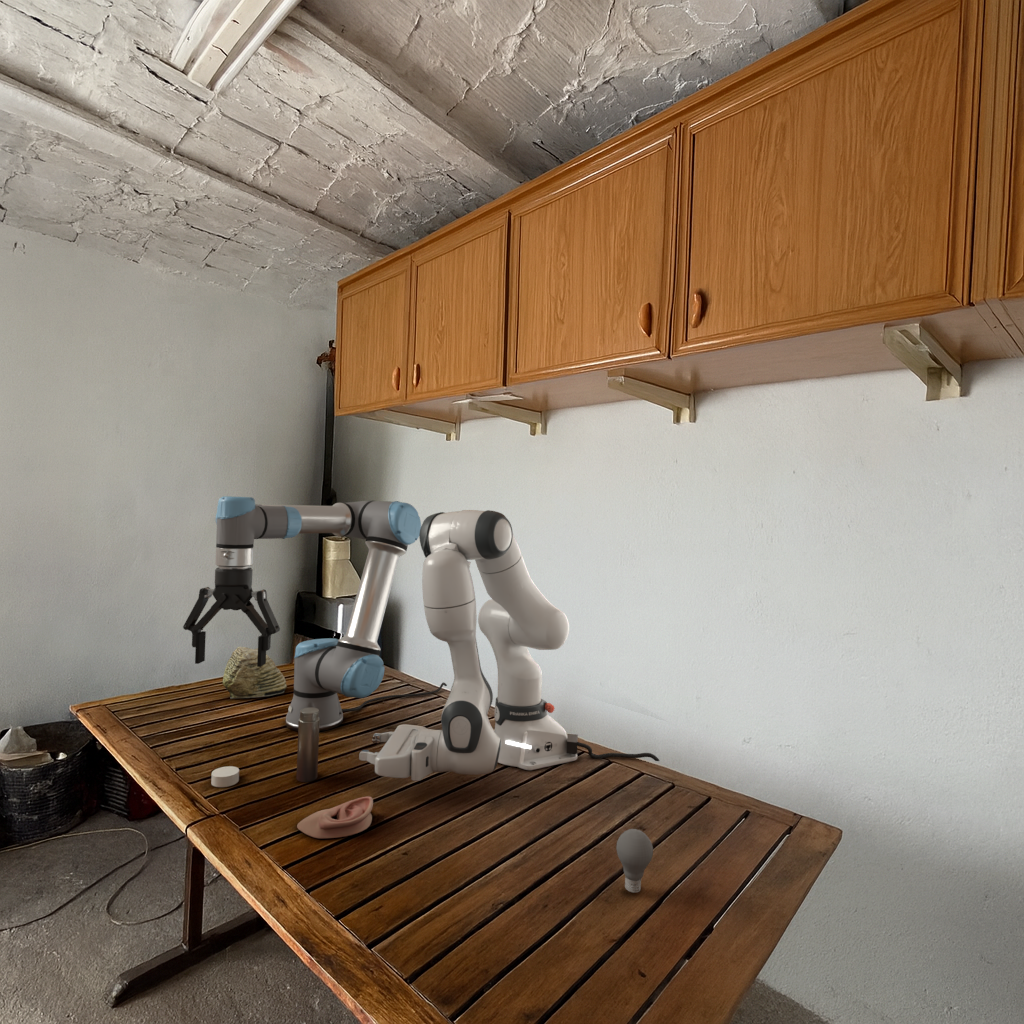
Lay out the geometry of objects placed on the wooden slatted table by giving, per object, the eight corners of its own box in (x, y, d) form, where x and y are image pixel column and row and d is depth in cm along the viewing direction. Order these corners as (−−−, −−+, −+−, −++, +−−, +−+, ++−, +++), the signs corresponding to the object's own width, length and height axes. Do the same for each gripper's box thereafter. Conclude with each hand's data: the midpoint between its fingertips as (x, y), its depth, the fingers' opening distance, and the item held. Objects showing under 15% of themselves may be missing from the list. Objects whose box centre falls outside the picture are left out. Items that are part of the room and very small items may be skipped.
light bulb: (610, 879, 108) (613, 822, 108) (644, 879, 109) (647, 822, 109) (619, 902, 102) (622, 840, 102) (655, 901, 103) (658, 840, 103)
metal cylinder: (317, 780, 141) (320, 712, 141) (296, 783, 140) (299, 714, 139) (317, 772, 145) (319, 706, 145) (296, 774, 144) (298, 707, 144)
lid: (212, 777, 140) (213, 767, 140) (239, 775, 142) (240, 765, 142) (209, 788, 135) (210, 778, 135) (237, 785, 137) (238, 775, 137)
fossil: (218, 695, 195) (220, 647, 195) (278, 685, 208) (279, 640, 207) (228, 703, 189) (230, 653, 188) (289, 692, 201) (290, 645, 201)
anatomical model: (288, 812, 118) (319, 786, 130) (288, 834, 118) (318, 805, 130) (354, 823, 116) (380, 795, 127) (354, 844, 116) (379, 814, 127)
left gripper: (167, 566, 135) (164, 665, 135) (284, 571, 134) (280, 671, 135) (186, 562, 142) (183, 656, 143) (297, 567, 142) (293, 662, 142)
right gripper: (437, 719, 151) (380, 715, 152) (417, 755, 130) (352, 750, 131) (436, 745, 151) (379, 741, 152) (416, 785, 131) (351, 780, 132)
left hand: (230, 663), depth 139 cm, fingers open, 13 cm apart
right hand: (366, 746), depth 142 cm, fingers open, 8 cm apart
